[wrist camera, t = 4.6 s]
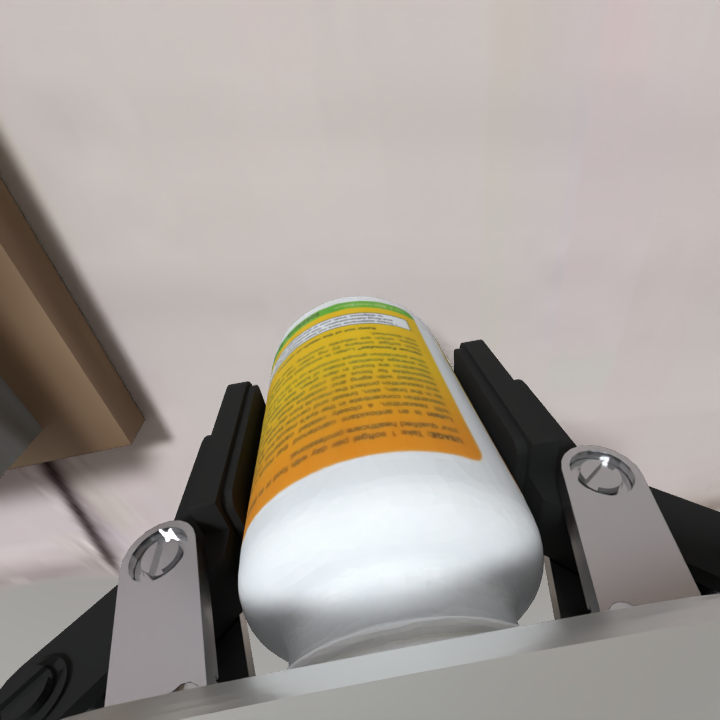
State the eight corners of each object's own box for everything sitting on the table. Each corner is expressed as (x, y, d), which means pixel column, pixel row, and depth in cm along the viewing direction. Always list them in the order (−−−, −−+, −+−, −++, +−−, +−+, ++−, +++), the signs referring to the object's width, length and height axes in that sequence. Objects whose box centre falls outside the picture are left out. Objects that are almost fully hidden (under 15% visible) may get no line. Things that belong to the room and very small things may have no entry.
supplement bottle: (239, 374, 12) (79, 896, 4) (355, 253, 10) (504, 726, 2) (357, 450, 14) (412, 876, 6) (467, 361, 13) (742, 787, 5)
